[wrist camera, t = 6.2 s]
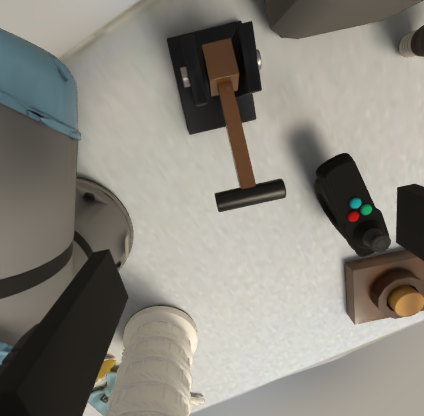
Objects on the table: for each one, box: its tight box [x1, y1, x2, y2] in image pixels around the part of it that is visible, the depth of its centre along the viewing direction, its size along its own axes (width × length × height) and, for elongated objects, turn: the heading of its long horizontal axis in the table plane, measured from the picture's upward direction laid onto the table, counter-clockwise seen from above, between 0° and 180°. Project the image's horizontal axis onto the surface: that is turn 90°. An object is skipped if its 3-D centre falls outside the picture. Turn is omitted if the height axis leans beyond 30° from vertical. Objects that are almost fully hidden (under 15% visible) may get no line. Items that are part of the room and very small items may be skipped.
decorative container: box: [104, 306, 197, 416], centre depth 35 cm, size 12×12×18 cm
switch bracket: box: [167, 21, 262, 135], centre depth 25 cm, size 10×8×13 cm
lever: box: [202, 38, 286, 212], centre depth 20 cm, size 12×5×2 cm, turn 12°
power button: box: [387, 285, 424, 317], centre depth 38 cm, size 4×4×2 cm
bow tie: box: [88, 372, 117, 416], centre depth 46 cm, size 10×2×5 cm
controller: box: [314, 153, 391, 257], centre depth 31 cm, size 4×12×10 cm, turn 31°
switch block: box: [345, 250, 424, 324], centre depth 40 cm, size 12×10×4 cm
